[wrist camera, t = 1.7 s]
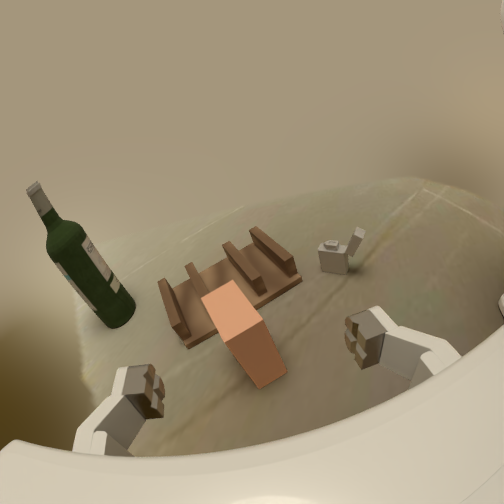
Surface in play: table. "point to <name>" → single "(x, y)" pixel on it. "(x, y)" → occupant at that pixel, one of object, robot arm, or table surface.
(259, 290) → the rack
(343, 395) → the table surface
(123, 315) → the wine bottle
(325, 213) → the table surface
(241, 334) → the salmon rectangular prism
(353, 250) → the lighter
